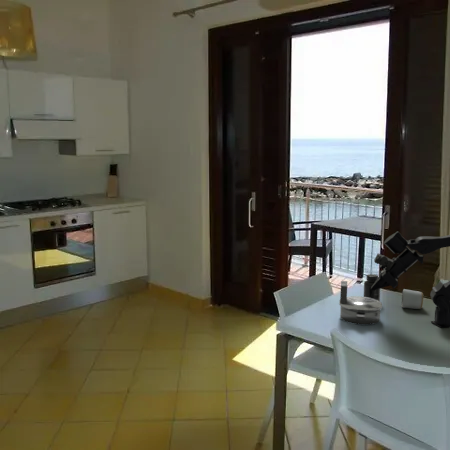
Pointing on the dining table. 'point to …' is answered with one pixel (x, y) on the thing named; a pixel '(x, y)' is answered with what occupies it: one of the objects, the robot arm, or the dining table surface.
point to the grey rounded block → (412, 299)
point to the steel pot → (360, 316)
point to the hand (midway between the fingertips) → (371, 289)
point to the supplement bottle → (367, 287)
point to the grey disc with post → (357, 301)
